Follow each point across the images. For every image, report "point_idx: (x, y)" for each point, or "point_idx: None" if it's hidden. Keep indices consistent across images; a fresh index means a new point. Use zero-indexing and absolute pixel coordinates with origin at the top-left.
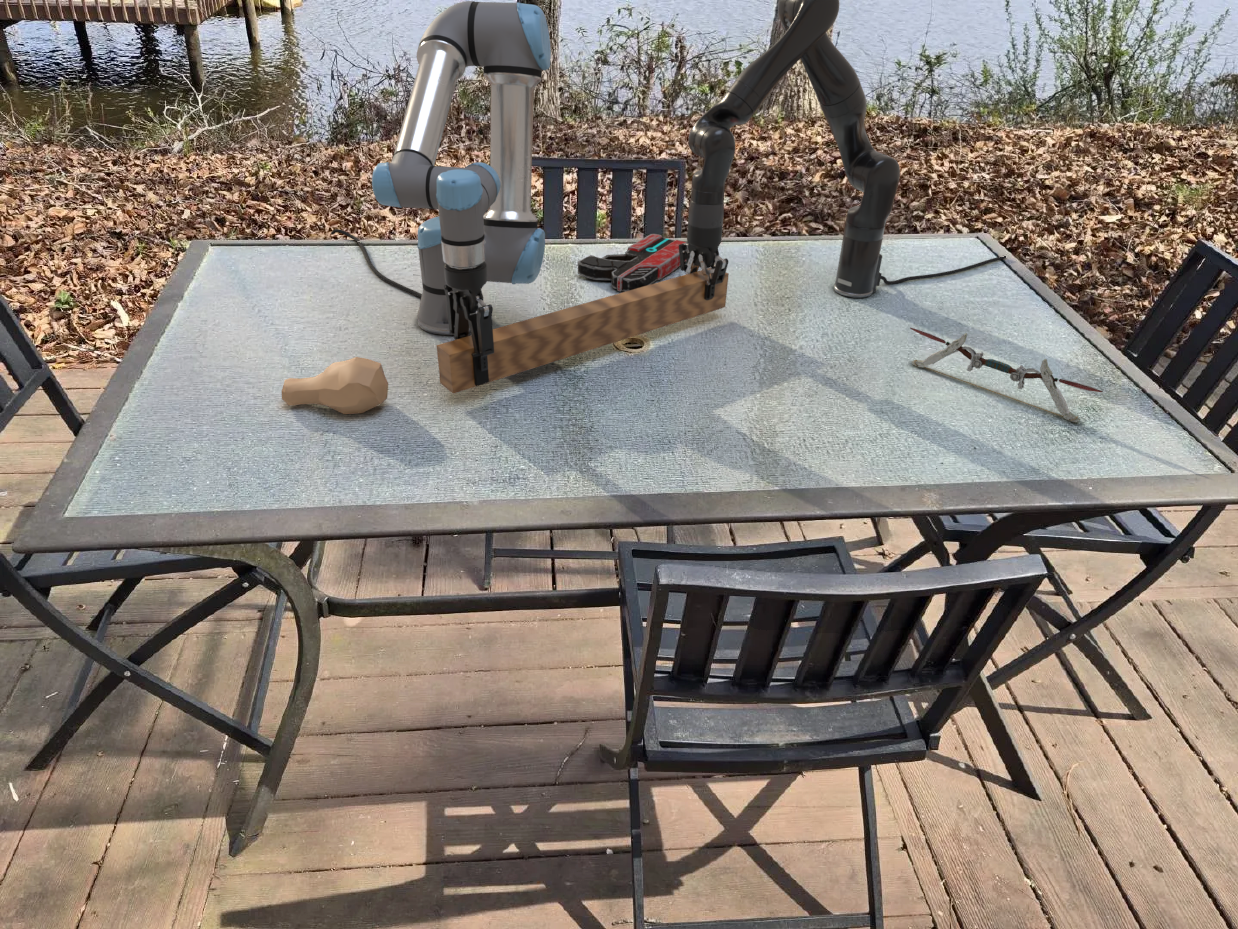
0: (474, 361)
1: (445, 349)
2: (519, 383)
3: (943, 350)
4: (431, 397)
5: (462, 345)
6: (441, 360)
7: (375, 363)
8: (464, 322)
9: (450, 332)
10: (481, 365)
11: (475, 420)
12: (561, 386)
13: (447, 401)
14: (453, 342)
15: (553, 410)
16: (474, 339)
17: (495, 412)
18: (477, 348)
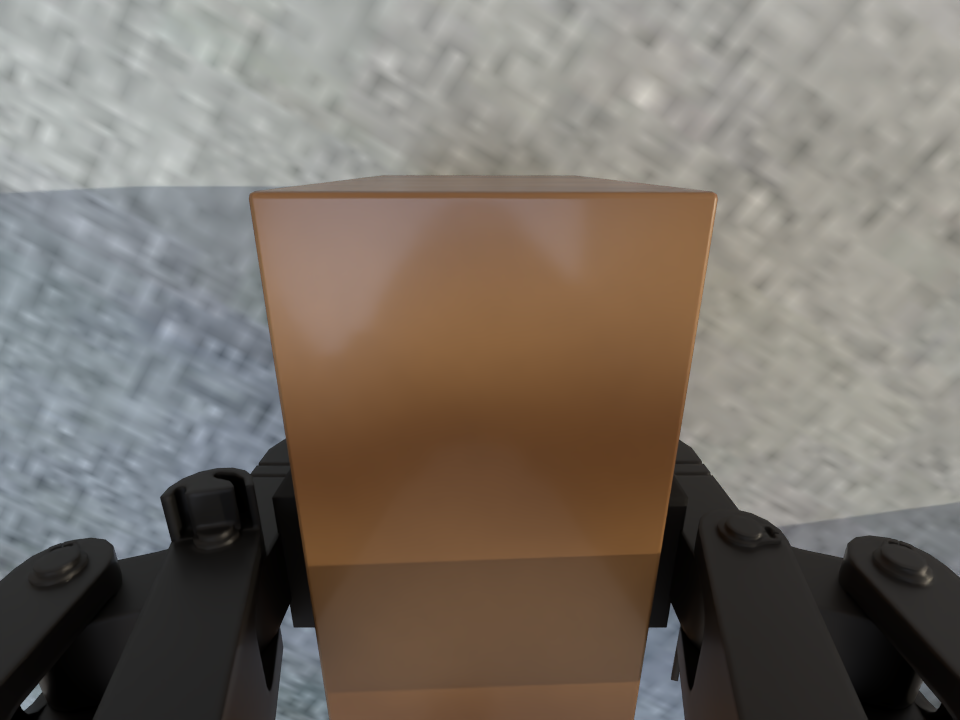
0: None
1: (473, 237)
2: None
3: None
4: (586, 109)
5: (452, 498)
6: (546, 183)
7: None
8: None
9: (883, 549)
10: (254, 472)
11: (179, 198)
12: (307, 670)
13: (479, 172)
14: (611, 448)
15: (117, 555)
16: (121, 716)
17: (218, 337)
18: (150, 597)
